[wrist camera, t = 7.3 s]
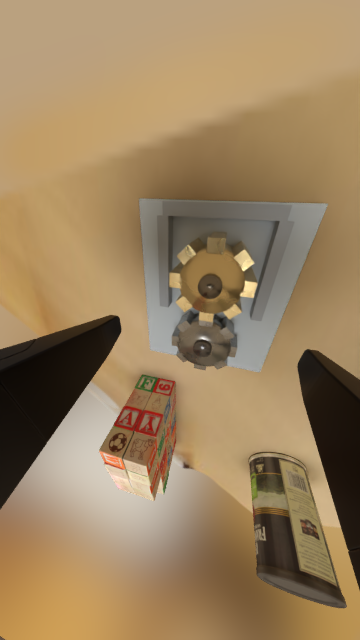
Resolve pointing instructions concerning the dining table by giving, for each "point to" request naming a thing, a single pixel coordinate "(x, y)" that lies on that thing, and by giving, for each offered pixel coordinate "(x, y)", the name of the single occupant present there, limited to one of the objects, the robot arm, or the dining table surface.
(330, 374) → the robot arm
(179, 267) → the brass gear
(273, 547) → the coffee can
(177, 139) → the dining table surface
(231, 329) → the gear
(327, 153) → the dining table surface
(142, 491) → the stack of blocks
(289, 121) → the dining table surface
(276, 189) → the dining table surface
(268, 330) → the gear board
